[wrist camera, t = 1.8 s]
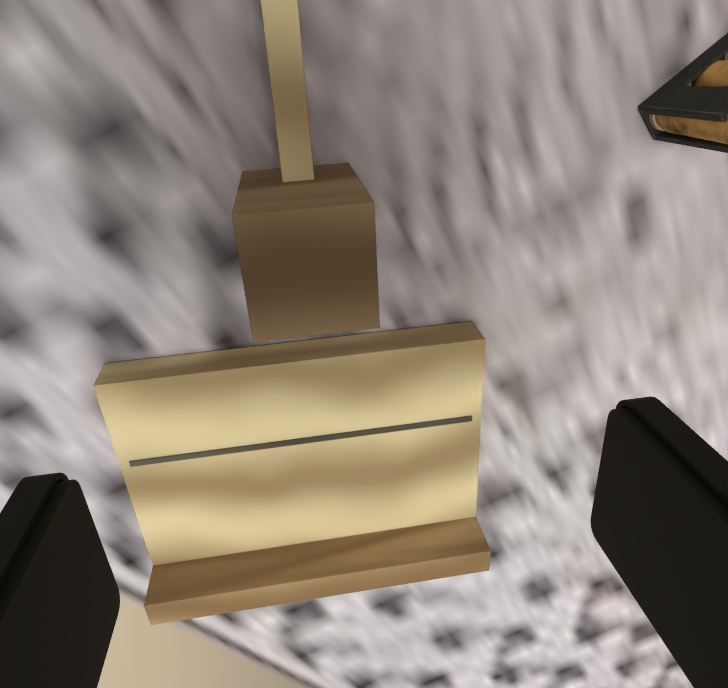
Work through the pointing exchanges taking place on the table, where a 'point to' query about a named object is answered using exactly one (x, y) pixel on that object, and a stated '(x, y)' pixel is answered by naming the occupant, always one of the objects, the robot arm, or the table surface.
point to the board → (301, 466)
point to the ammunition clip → (693, 103)
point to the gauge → (303, 216)
